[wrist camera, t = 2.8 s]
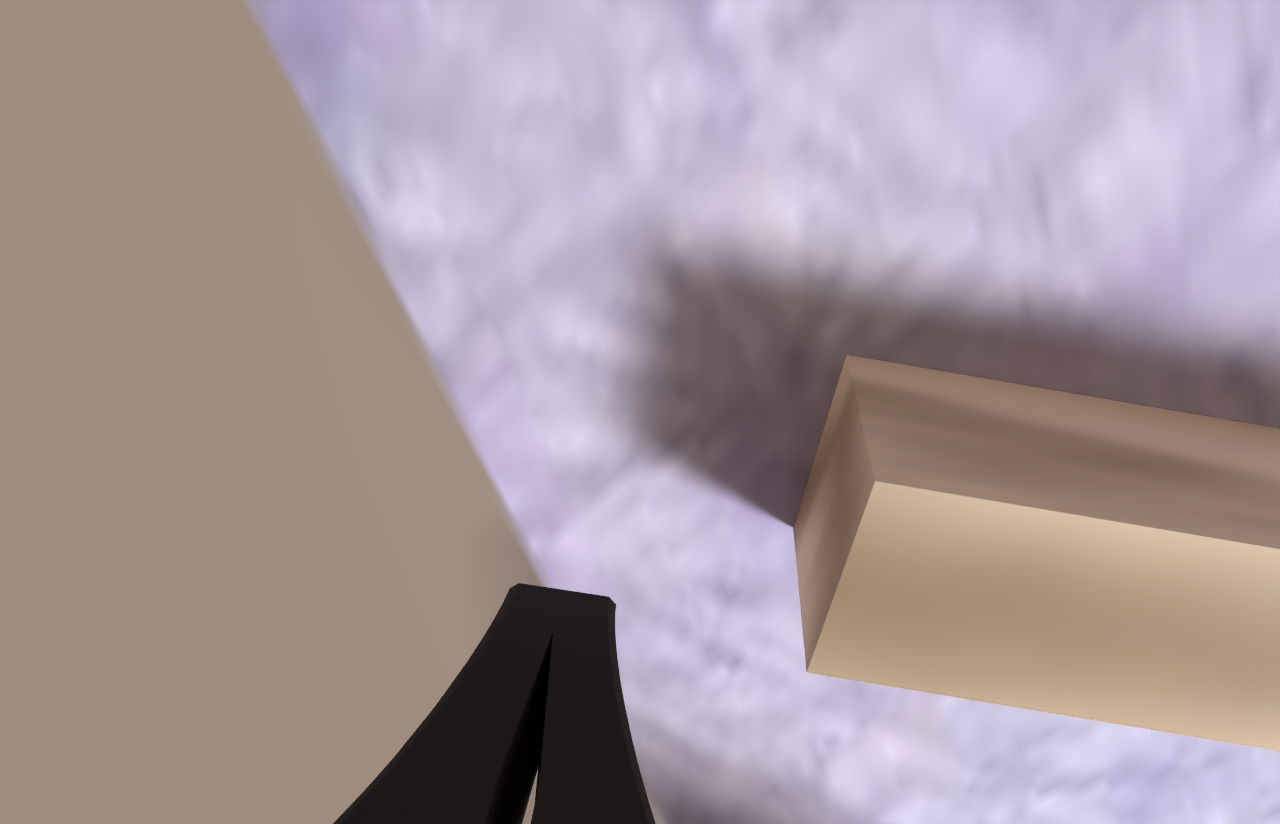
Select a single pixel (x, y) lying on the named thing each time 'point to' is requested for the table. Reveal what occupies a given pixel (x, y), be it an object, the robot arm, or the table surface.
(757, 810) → the table surface
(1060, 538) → the bar
